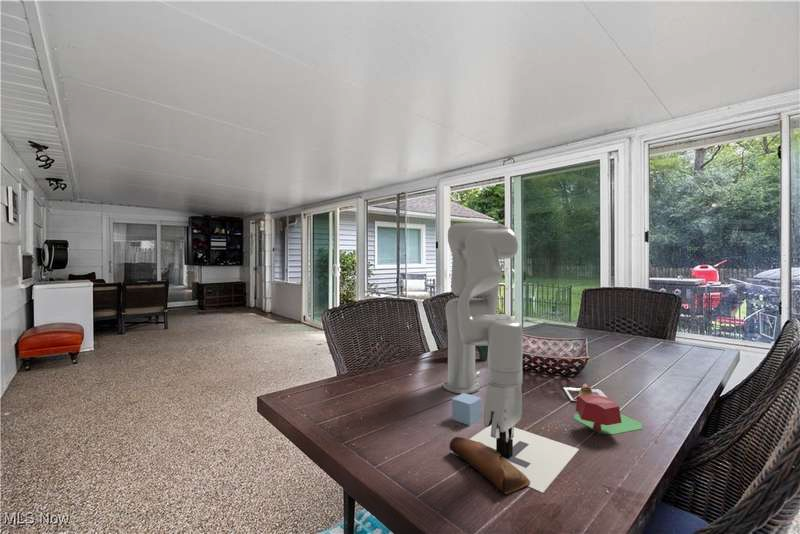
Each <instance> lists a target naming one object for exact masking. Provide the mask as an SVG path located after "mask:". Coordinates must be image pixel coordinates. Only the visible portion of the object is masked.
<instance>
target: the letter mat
mask: <svg viewBox="0 0 800 534" xmlns="http://www.w3.org/2000/svg"><path fill="white" fill-rule="evenodd" d="M491 427H492V425H491V426H489V427H485V428H483V429H482V430H480V431H479V432H477V433H476V434H474V435H473V436H471V438H469V439H470V440H473V441H476V442H481V443H482V444H484V445H486V446H488V447H491V448H493V449H494V450H496V438H494V437H491ZM511 439H513V456H512V457H510V459H506V458H504V457H503V458H504V459H506V460H507V461H508V462H510V463H511V464H512V465H513V466H515V467H516V468H517V469H518V470H519V471H521V472H522V473H523V474H524V475H525V476H526V477H527V478H528V479H529V480H530V484H529V485H527V486H526V487H527V488H530V489H533V490H535V491H537V492H540V493H542V494H544V493H545V491H546V490H547V489H548V488H549V486H551V484H552V483H553V482H554V480H556V479H557V477H558V476H559V475H560V473H561V472H563V470H564V468H566V466H567V465H568V464H569V463H570V461H571V460H572V459H573V458H574V456H575V455H576V454H577V453H578V452H579V450H580V449H579V448H578V447H574V446H571V445H570V444H569V445H568V444H565V443H563V442H560V441H556V440H554V439H552V438H548V437H544V436H541V435H539V434H535V433H532V432H529V431H528V430H527V431H526V430H523V429H520V428H517V427H515V426H514V436H513V438H511ZM450 453H451V454H453V455H456V456H458V455H457V454H455V453H454V452H453V451H451V450H450Z"/></svg>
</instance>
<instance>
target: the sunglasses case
mask: <svg viewBox="0 0 800 534" xmlns="http://www.w3.org/2000/svg"><path fill="white" fill-rule="evenodd" d="M449 450H450V452H451V451H453V452H454V453H455V454H457V455H456V456H458V457H460V458H461V459H463V460H464V461H465V462H467V463H468V464H469V465H470V466H471V467H473V468H474V469H475V470H476V471H478V472H479V473H480V474H481V475H482V476H483V477H484V478H486V479H487V480H489V482H491V483H492V484H493V486H495V487H497V488H498V489H499V490H500V491H501V492H502V493H504V494H505V495H509V494H512V493H515V492H517V491H520V490H521V489H523V488H525V487H528V486H527V485H529V484H530V480H529V479H528V478H527V477H526V476H525V475H524V474H523V473H522V472H521V471H519V470H518V469H517V468H516V467H515V466H513V465H512V464H511V463H510V462H508V461H507V460H506V459H504V458H503V457H502V456H501V454H500V453H498V452H497V451H496V450H494V449H493V448H491V447H488V446H486V445H484V444H482V443H481V442H476V441H473V440H470V438H466V437H461V436H459V437H458V436H455V437H453V438H452V439H451V440H450V443H449ZM455 454H454V455H455Z"/></svg>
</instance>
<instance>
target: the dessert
mask: <svg viewBox="0 0 800 534" xmlns="http://www.w3.org/2000/svg"><path fill="white" fill-rule="evenodd" d="M562 388H563V390H564V392H565V393H566V395H567V397H568V398H569V400H570V401H572V402H576V403H577V399H574V398H573V396H572V394H570V392H569V391H572V392H573V391H575V392H579V393H578V397H579V396H586V395H592V394H593V393H596V394H597V395H600V396H604V397H607V395H606V394H605V393H604V392H603V391H602V390H601V389H593V388H591V387H590V385H589V384H587V383H584V384H583V385H582V386H581V387H580V388H578V387H566V386H564V387H562Z"/></svg>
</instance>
